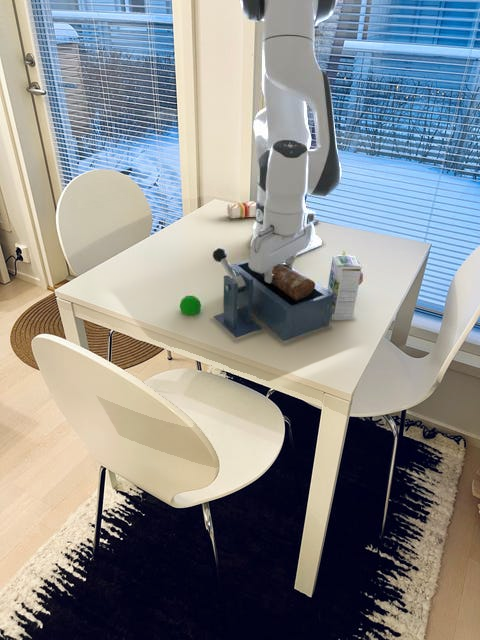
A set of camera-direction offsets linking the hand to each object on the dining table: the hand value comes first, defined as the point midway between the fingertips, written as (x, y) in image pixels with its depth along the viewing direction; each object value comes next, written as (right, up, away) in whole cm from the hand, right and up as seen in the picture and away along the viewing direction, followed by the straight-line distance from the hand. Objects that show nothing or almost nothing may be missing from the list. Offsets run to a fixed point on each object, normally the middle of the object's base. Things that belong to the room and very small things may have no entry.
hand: (278, 275), depth 118 cm
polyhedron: (-21, -9, +4) cm, 23 cm away
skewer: (-3, +26, +59) cm, 65 cm away
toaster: (0, -8, +5) cm, 10 cm away
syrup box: (+15, -9, +5) cm, 18 cm away
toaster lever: (-12, 0, -3) cm, 12 cm away
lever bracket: (-10, -12, 0) cm, 15 cm away
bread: (0, -2, +1) cm, 2 cm away
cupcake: (+18, -3, +15) cm, 24 cm away
